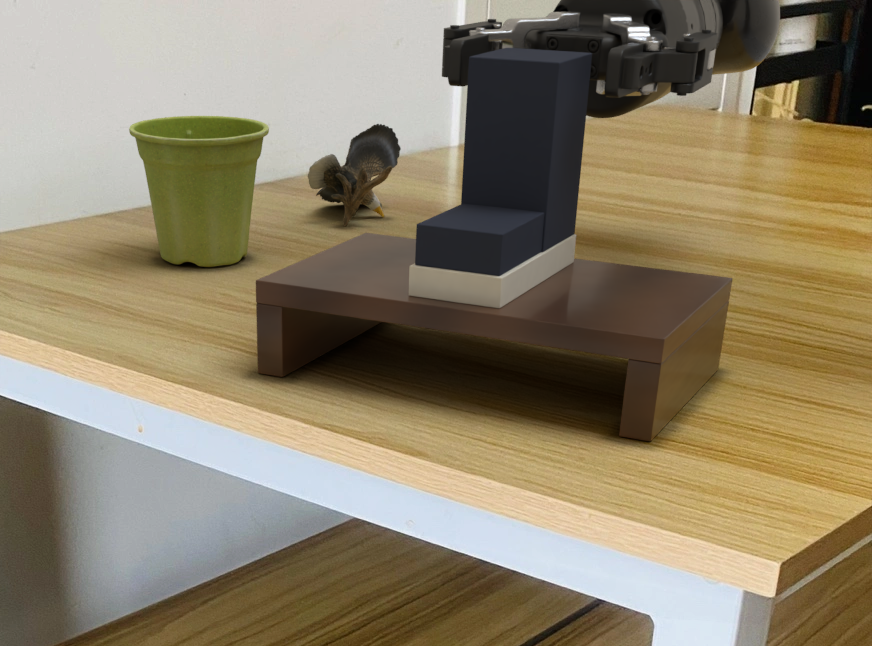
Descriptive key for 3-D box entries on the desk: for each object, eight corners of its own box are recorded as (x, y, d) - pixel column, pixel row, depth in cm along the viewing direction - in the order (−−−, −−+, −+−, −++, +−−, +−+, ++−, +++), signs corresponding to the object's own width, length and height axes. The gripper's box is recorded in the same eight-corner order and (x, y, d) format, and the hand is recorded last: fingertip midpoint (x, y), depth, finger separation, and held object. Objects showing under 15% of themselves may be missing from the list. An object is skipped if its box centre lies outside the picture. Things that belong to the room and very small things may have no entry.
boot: (490, 251, 78) (503, 47, 72) (574, 262, 76) (594, 52, 70) (408, 295, 70) (416, 68, 64) (499, 308, 68) (516, 75, 62)
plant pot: (295, 263, 96) (294, 130, 91) (173, 280, 92) (166, 141, 87) (232, 237, 103) (228, 112, 98) (116, 252, 98) (106, 121, 94)
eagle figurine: (419, 212, 105) (421, 168, 112) (369, 131, 101) (374, 90, 108) (336, 263, 108) (343, 217, 115) (285, 186, 104) (295, 143, 111)
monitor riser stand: (718, 369, 76) (732, 277, 73) (650, 442, 66) (664, 338, 63) (363, 316, 85) (365, 232, 82) (257, 373, 75) (255, 280, 72)
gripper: (520, -34, 83) (407, -20, 70) (757, -26, 77) (680, -9, 65) (511, 101, 87) (402, 137, 74) (736, 118, 81) (659, 159, 69)
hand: (532, 69), depth 70 cm, fingers open, 8 cm apart
